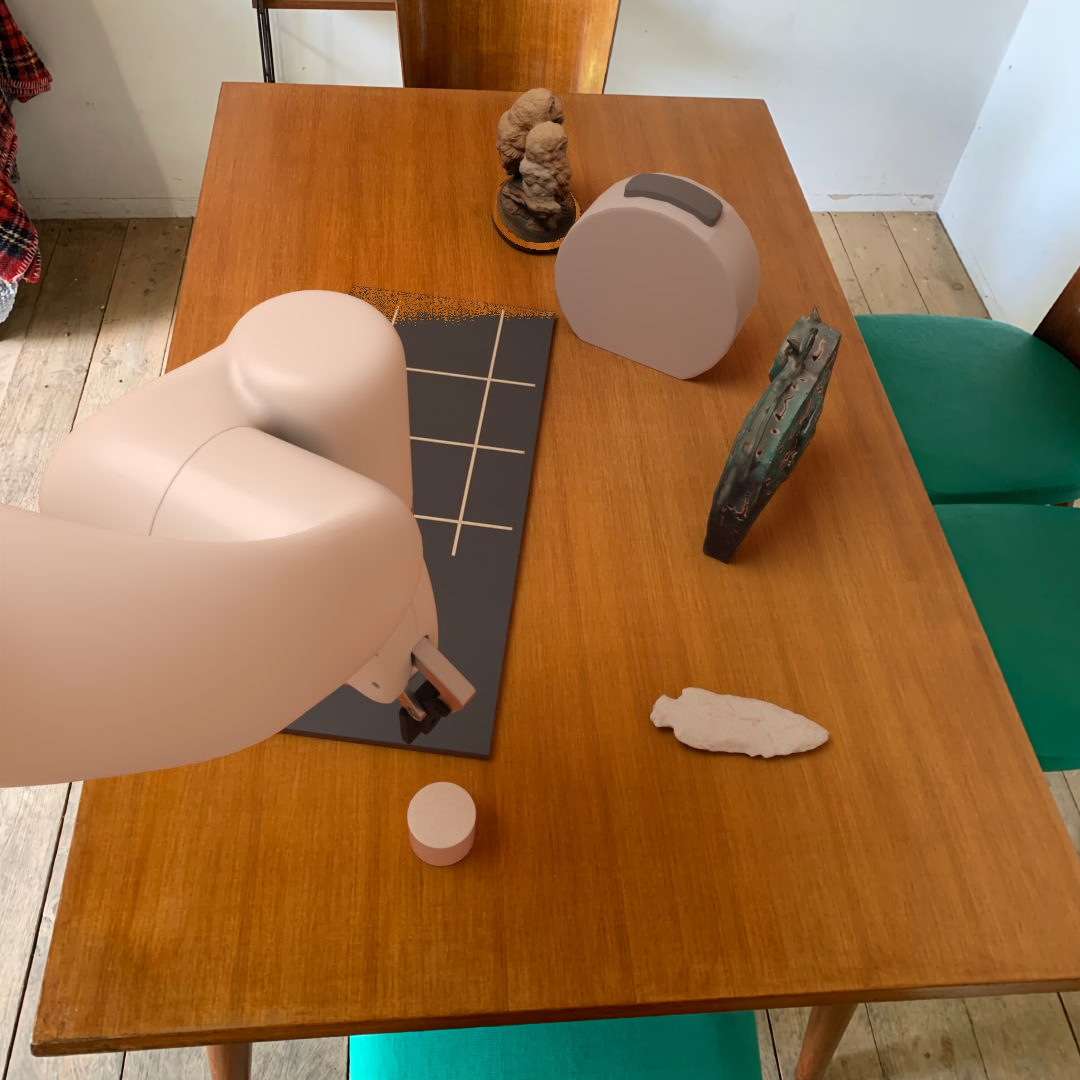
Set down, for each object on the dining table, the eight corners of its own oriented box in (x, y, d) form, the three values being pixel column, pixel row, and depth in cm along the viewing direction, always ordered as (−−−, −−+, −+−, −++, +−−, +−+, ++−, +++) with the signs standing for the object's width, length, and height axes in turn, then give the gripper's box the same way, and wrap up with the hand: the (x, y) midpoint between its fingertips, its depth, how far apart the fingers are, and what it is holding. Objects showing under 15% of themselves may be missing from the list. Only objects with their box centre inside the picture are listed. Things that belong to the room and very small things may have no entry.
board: (488, 760, 74) (488, 754, 73) (193, 721, 74) (190, 715, 73) (554, 318, 108) (555, 310, 107) (353, 291, 108) (352, 284, 107)
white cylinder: (420, 876, 68) (419, 858, 65) (400, 814, 71) (398, 794, 67) (484, 852, 69) (485, 834, 66) (462, 793, 72) (463, 772, 69)
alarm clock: (739, 355, 107) (788, 202, 91) (716, 393, 102) (765, 239, 87) (575, 292, 111) (595, 136, 96) (547, 326, 107) (563, 169, 91)
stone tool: (647, 750, 76) (829, 769, 75) (650, 738, 74) (836, 757, 74) (648, 690, 80) (822, 708, 79) (651, 677, 78) (829, 695, 77)
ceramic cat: (753, 426, 100) (810, 271, 84) (809, 449, 98) (879, 297, 82) (682, 550, 88) (733, 400, 73) (745, 579, 87) (811, 432, 71)
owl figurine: (591, 260, 115) (610, 130, 102) (498, 262, 114) (505, 130, 100) (570, 180, 126) (584, 53, 113) (484, 181, 125) (488, 51, 111)
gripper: (164, 482, 47) (228, 651, 61) (422, 664, 42) (429, 805, 56) (272, 404, 51) (309, 579, 65) (519, 562, 46) (504, 716, 60)
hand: (364, 683), depth 60 cm, fingers open, 9 cm apart
